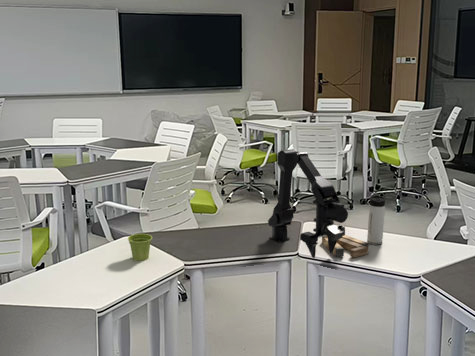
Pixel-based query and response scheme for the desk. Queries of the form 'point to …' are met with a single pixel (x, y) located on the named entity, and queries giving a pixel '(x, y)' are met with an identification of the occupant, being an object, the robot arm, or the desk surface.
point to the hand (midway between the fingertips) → (322, 255)
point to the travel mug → (376, 220)
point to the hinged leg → (337, 250)
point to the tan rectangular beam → (354, 246)
